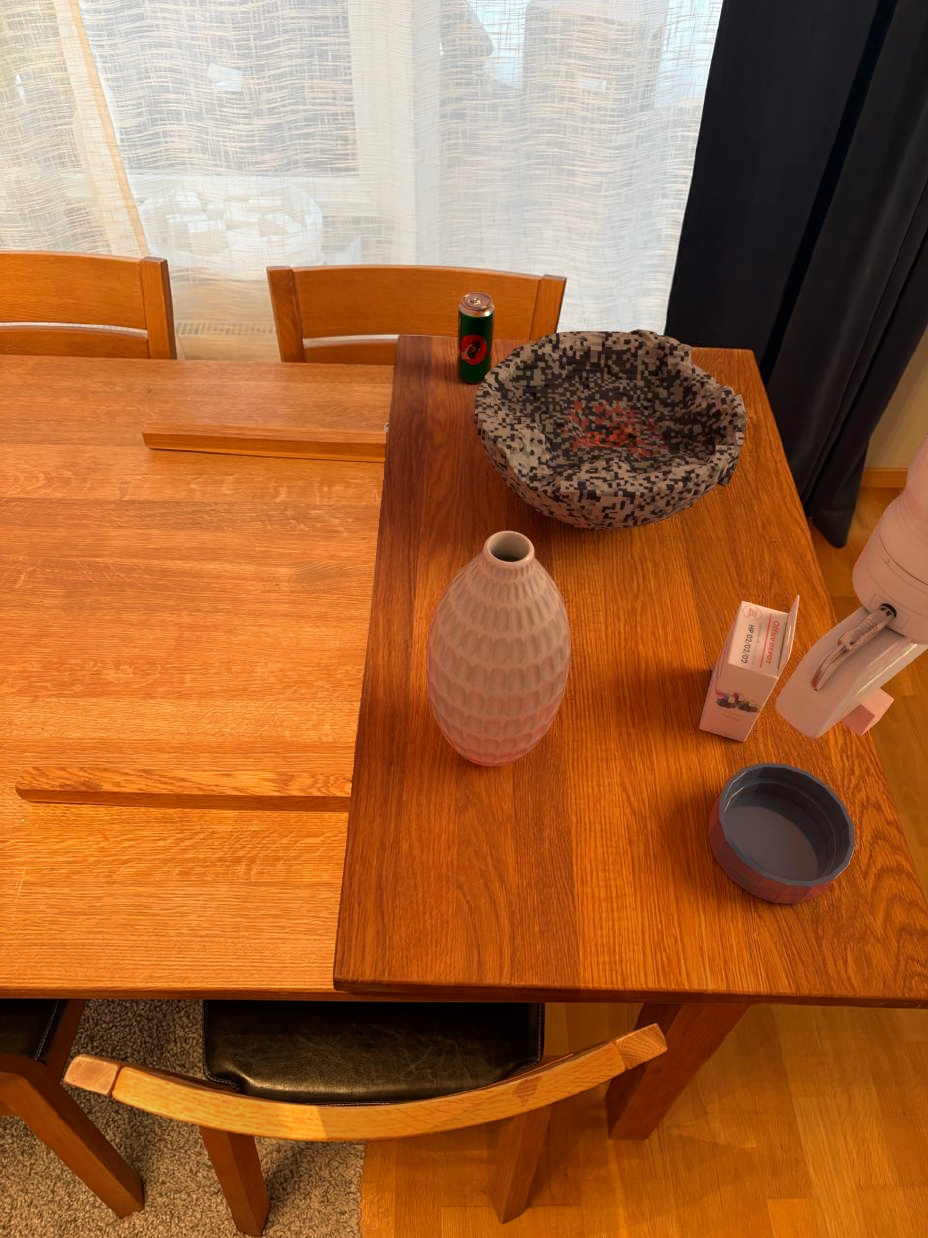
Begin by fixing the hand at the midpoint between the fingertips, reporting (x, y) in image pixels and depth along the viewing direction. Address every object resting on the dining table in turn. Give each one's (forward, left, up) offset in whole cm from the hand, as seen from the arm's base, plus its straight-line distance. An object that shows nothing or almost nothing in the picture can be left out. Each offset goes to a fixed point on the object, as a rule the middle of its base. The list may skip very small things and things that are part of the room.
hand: (851, 696), depth 66 cm
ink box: (+8, -10, -21) cm, 24 cm away
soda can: (+61, -44, -21) cm, 78 cm away
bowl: (+35, -31, -21) cm, 51 cm away
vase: (+27, +8, -21) cm, 35 cm away
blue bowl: (-1, +3, -21) cm, 21 cm away
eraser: (0, 0, -2) cm, 2 cm away
